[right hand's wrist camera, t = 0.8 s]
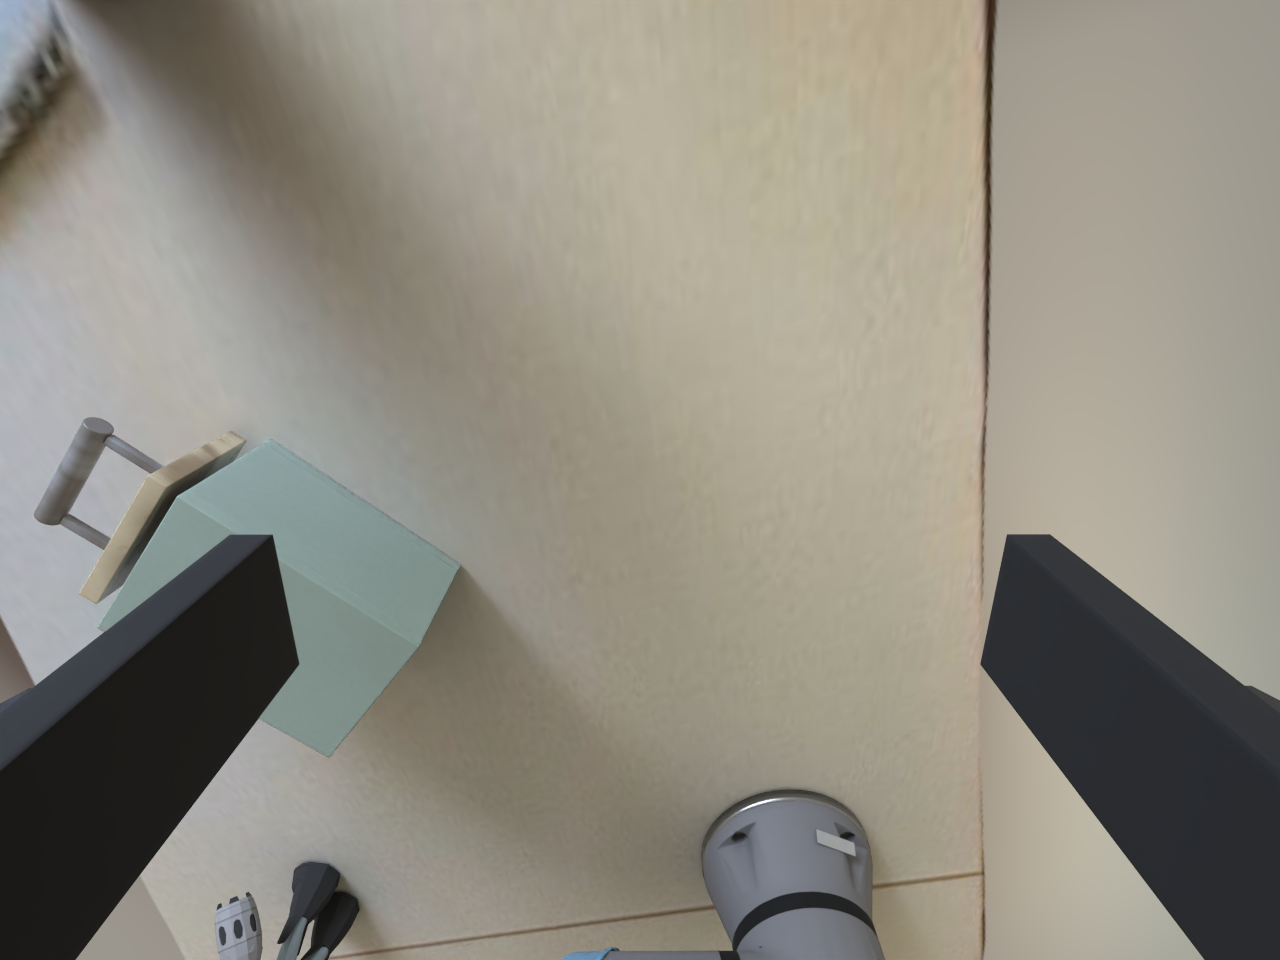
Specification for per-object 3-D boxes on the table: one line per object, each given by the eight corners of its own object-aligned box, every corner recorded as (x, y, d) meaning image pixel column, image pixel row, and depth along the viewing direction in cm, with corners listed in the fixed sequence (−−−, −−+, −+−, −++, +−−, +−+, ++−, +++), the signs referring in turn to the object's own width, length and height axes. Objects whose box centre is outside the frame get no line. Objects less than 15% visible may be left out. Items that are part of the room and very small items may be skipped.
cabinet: (199, 548, 53) (96, 628, 43) (270, 438, 50) (176, 495, 40) (384, 661, 57) (328, 758, 47) (461, 564, 54) (419, 646, 44)
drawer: (96, 488, 51) (-11, 543, 42) (157, 381, 48) (54, 417, 39) (346, 640, 55) (294, 717, 47) (415, 550, 52) (372, 615, 44)
